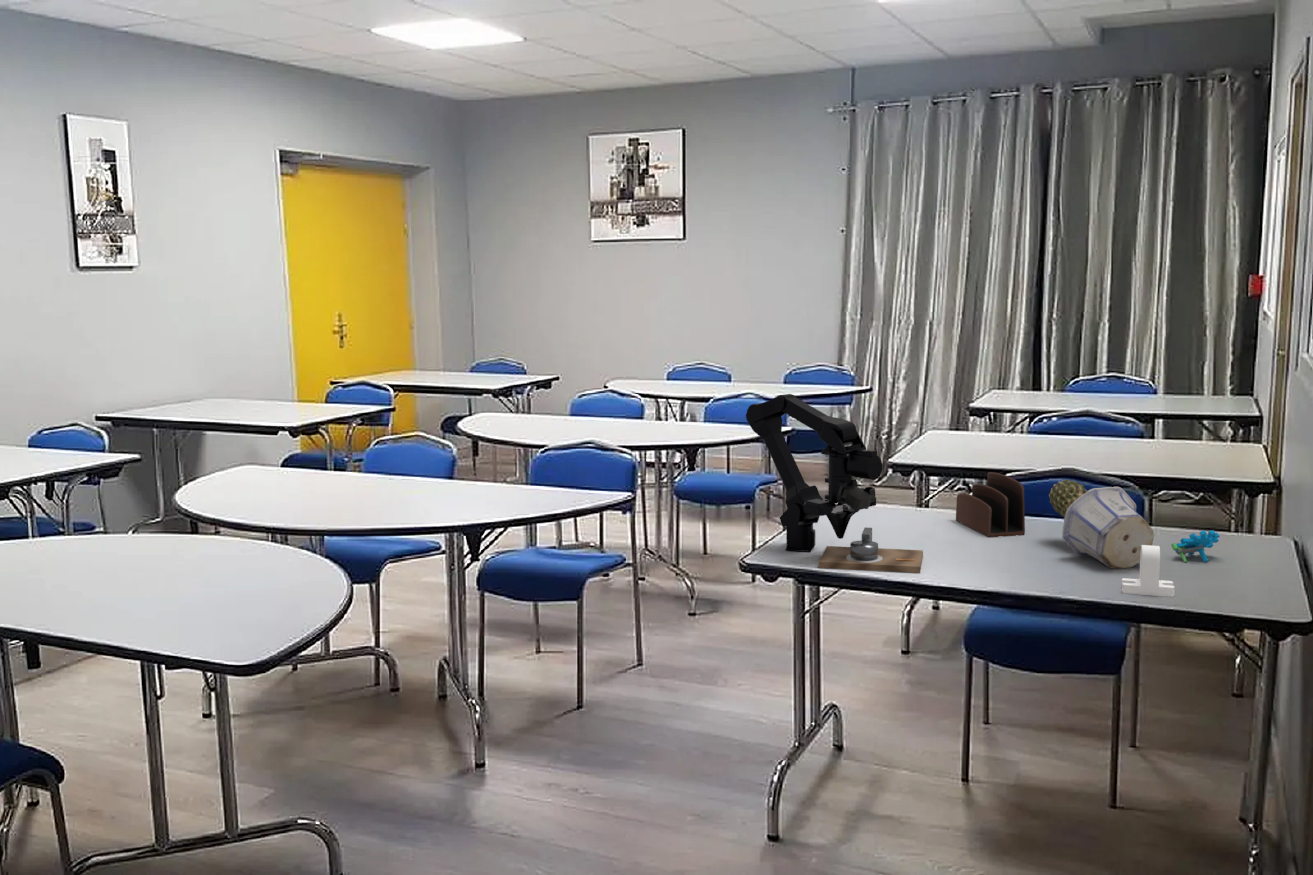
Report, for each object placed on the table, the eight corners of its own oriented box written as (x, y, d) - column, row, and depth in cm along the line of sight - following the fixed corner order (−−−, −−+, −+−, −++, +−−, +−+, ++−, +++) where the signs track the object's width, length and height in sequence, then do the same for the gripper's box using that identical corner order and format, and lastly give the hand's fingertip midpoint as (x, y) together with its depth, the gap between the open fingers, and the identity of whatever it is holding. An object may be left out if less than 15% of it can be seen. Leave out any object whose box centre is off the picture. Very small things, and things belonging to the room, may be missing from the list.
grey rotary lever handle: (876, 560, 254) (877, 541, 253) (848, 559, 256) (848, 540, 255) (881, 546, 267) (881, 528, 266) (855, 545, 268) (855, 527, 268)
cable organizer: (1174, 597, 228) (1176, 550, 226) (1122, 593, 231) (1124, 547, 230) (1172, 590, 233) (1174, 544, 231) (1121, 586, 236) (1123, 541, 235)
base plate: (818, 568, 256) (818, 560, 256) (827, 551, 271) (827, 544, 270) (920, 573, 250) (920, 565, 250) (923, 556, 264) (923, 549, 264)
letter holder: (989, 519, 302) (990, 468, 300) (1025, 535, 282) (1026, 481, 280) (955, 521, 300) (956, 470, 298) (989, 538, 281) (990, 484, 279)
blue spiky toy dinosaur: (1209, 546, 261) (1223, 524, 252) (1220, 568, 257) (1234, 546, 249) (1163, 554, 260) (1175, 532, 252) (1173, 576, 257) (1186, 554, 249)
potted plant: (1172, 507, 245) (1097, 454, 273) (1099, 516, 242) (1030, 462, 270) (1160, 575, 252) (1088, 517, 279) (1088, 585, 249) (1022, 525, 276)
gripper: (834, 484, 250) (834, 551, 252) (893, 474, 260) (892, 538, 263) (802, 477, 259) (802, 541, 261) (859, 468, 269) (859, 530, 272)
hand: (840, 538), depth 264 cm, fingers closed
